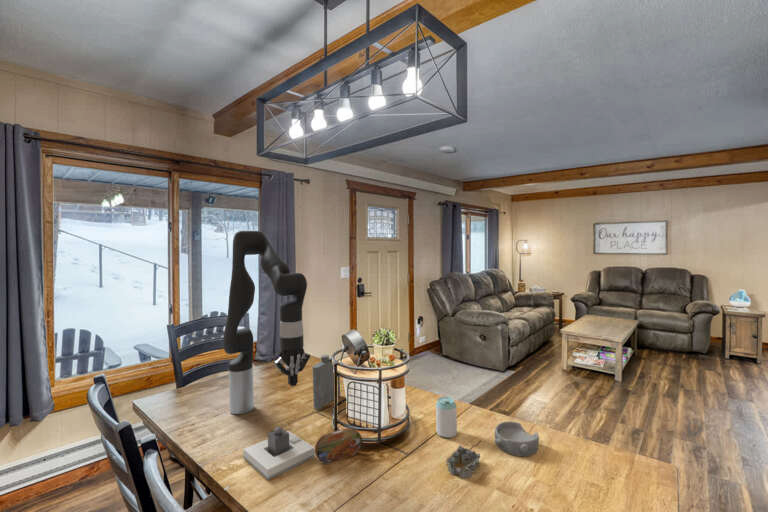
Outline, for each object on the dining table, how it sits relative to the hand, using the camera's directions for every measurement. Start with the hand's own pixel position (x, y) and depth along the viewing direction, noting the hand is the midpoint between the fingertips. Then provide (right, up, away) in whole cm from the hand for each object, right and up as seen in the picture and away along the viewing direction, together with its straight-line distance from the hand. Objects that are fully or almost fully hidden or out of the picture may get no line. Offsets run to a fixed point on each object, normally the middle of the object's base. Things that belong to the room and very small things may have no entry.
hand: (292, 385), depth 125 cm
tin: (+16, -21, -6) cm, 27 cm away
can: (+52, -20, +7) cm, 56 cm away
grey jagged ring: (+54, -20, -13) cm, 59 cm away
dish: (+73, -20, -2) cm, 76 cm away
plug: (-3, -20, -6) cm, 21 cm away
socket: (-3, -21, -6) cm, 22 cm away
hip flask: (+6, -20, +35) cm, 41 cm away
